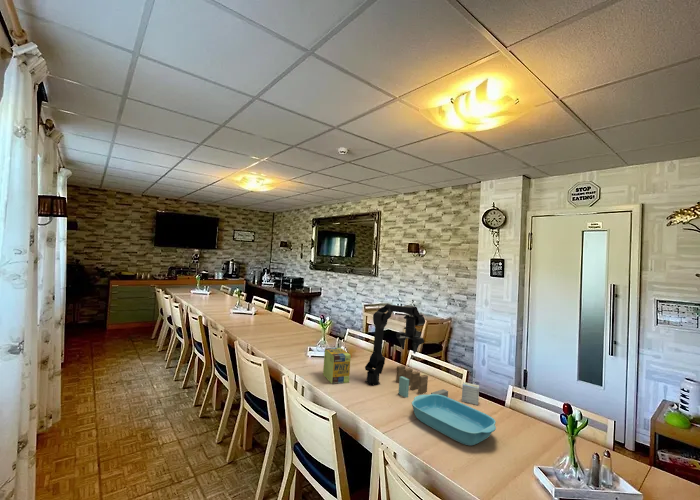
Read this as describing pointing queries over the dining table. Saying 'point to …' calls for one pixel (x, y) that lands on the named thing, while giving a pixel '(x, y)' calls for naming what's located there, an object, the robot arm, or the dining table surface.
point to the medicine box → (470, 393)
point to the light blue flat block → (403, 386)
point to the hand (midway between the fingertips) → (408, 351)
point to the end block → (441, 392)
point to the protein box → (336, 365)
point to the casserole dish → (453, 418)
